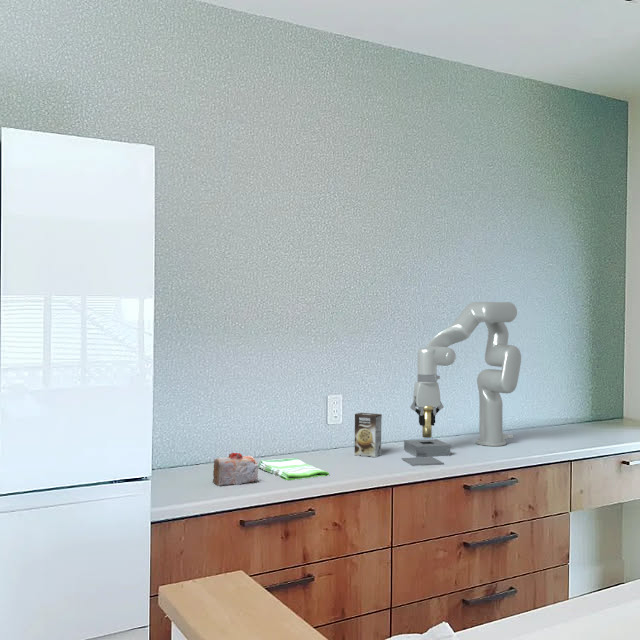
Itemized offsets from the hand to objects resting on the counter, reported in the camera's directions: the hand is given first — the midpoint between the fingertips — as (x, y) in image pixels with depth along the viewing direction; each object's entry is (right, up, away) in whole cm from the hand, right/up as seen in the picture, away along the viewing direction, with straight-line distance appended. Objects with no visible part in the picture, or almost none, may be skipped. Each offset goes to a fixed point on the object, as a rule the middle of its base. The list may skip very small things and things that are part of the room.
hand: (427, 424), depth 282 cm
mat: (-4, -11, -17) cm, 21 cm away
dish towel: (-52, -12, -34) cm, 63 cm away
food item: (-70, -12, -51) cm, 87 cm away
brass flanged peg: (0, -5, 0) cm, 5 cm away
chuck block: (0, -11, 0) cm, 11 cm away
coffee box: (-24, -11, -4) cm, 27 cm away
